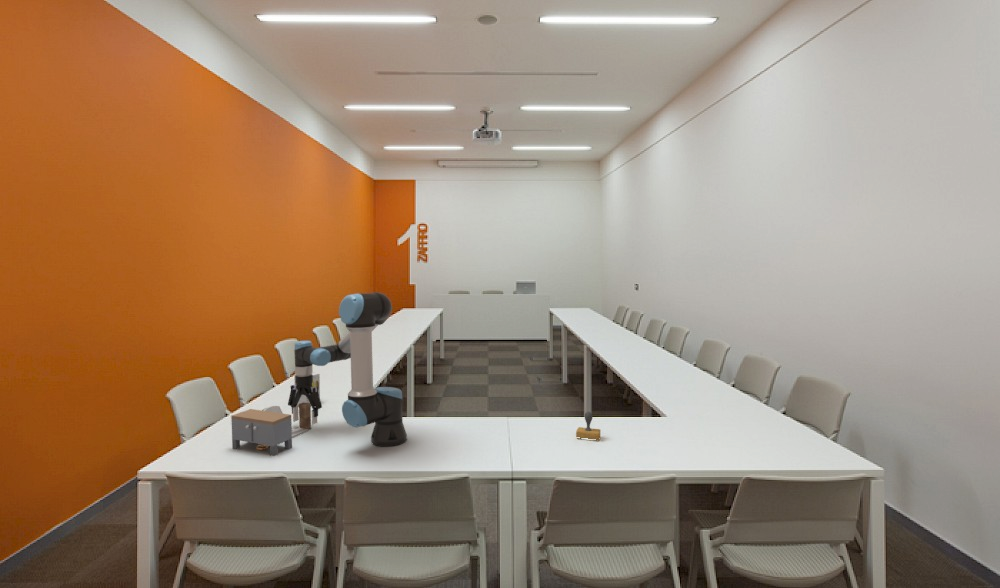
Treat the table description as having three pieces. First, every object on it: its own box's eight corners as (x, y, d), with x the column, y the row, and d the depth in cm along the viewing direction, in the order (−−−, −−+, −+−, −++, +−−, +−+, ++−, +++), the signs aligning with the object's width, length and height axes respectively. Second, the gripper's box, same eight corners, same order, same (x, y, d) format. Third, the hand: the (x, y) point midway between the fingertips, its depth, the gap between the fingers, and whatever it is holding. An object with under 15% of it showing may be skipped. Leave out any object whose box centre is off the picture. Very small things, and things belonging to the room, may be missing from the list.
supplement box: (306, 408, 275) (305, 376, 274) (294, 405, 279) (293, 374, 278) (320, 404, 283) (320, 373, 282) (308, 401, 288) (308, 371, 286)
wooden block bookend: (312, 428, 243) (312, 403, 242) (279, 443, 224) (278, 416, 223) (302, 427, 245) (301, 402, 244) (268, 442, 226) (267, 414, 225)
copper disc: (270, 447, 220) (270, 445, 220) (262, 451, 216) (262, 448, 216) (262, 446, 222) (262, 443, 222) (253, 449, 218) (253, 447, 218)
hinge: (268, 432, 238) (260, 411, 238) (259, 435, 239) (251, 414, 239) (288, 420, 255) (281, 401, 255) (280, 423, 256) (273, 404, 255)
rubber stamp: (576, 439, 231) (576, 412, 231) (578, 434, 237) (578, 408, 236) (598, 441, 228) (599, 414, 227) (600, 437, 234) (600, 410, 233)
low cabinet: (292, 447, 220) (291, 414, 219) (272, 456, 210) (271, 422, 209) (251, 440, 227) (250, 408, 226) (230, 449, 217) (229, 416, 216)
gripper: (329, 375, 240) (330, 422, 242) (290, 370, 248) (291, 417, 250) (318, 378, 233) (319, 427, 235) (278, 374, 241) (279, 421, 243)
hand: (305, 422), depth 242 cm, fingers open, 10 cm apart
